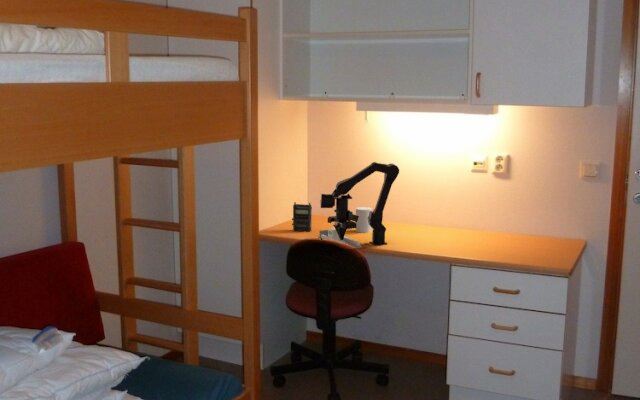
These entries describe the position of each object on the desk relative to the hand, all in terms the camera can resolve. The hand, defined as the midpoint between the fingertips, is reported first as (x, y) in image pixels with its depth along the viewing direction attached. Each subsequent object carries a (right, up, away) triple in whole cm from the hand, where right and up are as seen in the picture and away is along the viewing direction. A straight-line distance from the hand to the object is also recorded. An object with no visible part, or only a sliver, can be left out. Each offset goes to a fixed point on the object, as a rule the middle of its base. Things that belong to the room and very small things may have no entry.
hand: (341, 239), depth 345 cm
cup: (+12, +3, +30) cm, 32 cm away
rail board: (-1, -2, +2) cm, 3 cm away
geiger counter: (-20, +3, +29) cm, 35 cm away
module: (-3, 0, +6) cm, 7 cm away
